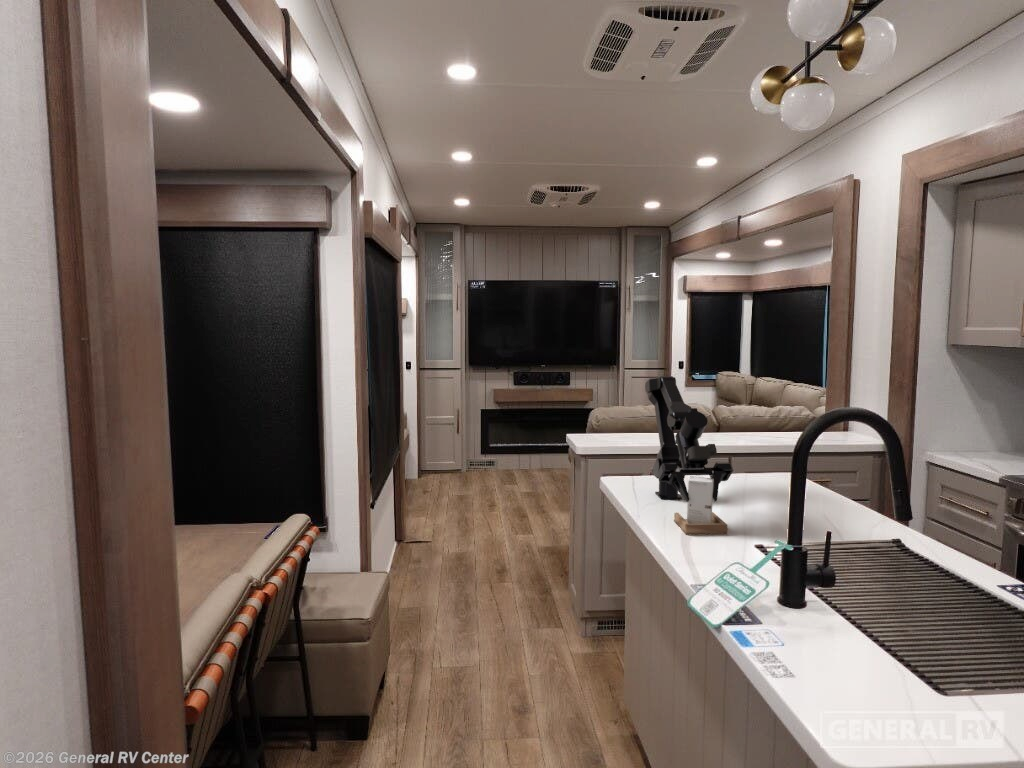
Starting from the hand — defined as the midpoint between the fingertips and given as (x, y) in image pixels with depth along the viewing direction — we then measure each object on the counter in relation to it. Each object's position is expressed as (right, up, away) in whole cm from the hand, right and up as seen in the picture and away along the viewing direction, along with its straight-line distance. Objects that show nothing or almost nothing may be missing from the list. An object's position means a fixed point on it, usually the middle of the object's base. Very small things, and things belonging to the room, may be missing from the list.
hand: (701, 500), depth 152 cm
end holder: (0, -7, +2) cm, 8 cm away
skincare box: (0, -7, +2) cm, 7 cm away
